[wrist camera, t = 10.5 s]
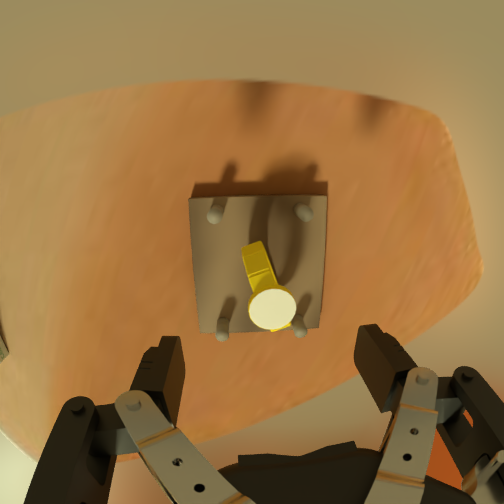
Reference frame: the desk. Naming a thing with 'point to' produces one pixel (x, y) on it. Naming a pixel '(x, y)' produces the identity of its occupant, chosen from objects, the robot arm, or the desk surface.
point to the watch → (266, 291)
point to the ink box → (3, 350)
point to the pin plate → (277, 248)
